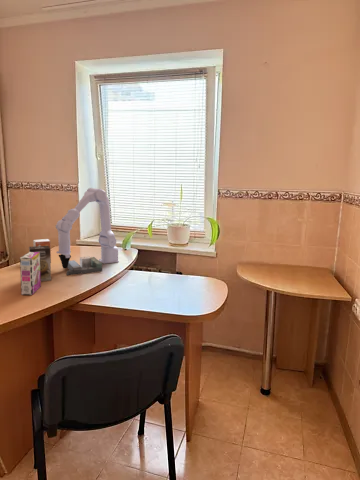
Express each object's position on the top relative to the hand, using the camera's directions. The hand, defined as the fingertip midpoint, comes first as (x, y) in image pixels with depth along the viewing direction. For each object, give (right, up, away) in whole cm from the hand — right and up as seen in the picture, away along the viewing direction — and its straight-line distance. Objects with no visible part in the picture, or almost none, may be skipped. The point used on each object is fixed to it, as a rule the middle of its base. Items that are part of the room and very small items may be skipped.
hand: (65, 268), depth 176 cm
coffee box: (-7, -5, -15) cm, 17 cm away
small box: (-17, +2, +13) cm, 22 cm away
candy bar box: (-4, -8, -30) cm, 31 cm away
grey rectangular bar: (+5, -1, +1) cm, 5 cm away
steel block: (+9, -1, +6) cm, 11 cm away
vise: (+8, -1, +3) cm, 9 cm away
